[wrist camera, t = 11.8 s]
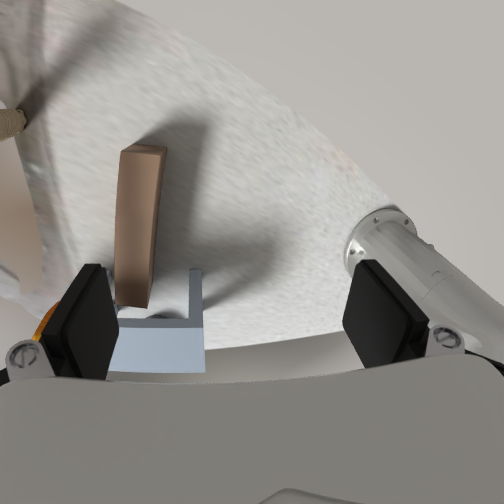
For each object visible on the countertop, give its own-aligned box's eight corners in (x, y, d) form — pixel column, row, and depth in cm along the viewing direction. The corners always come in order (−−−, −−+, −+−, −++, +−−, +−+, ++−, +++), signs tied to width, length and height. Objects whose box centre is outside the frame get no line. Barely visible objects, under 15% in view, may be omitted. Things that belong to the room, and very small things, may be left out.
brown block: (167, 147, 32) (160, 155, 27) (152, 281, 40) (147, 308, 35) (133, 143, 31) (120, 151, 26) (124, 277, 39) (115, 304, 34)
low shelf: (201, 269, 40) (203, 327, 30) (202, 311, 43) (205, 372, 33) (100, 270, 38) (74, 325, 27) (108, 311, 41) (90, 369, 31)
